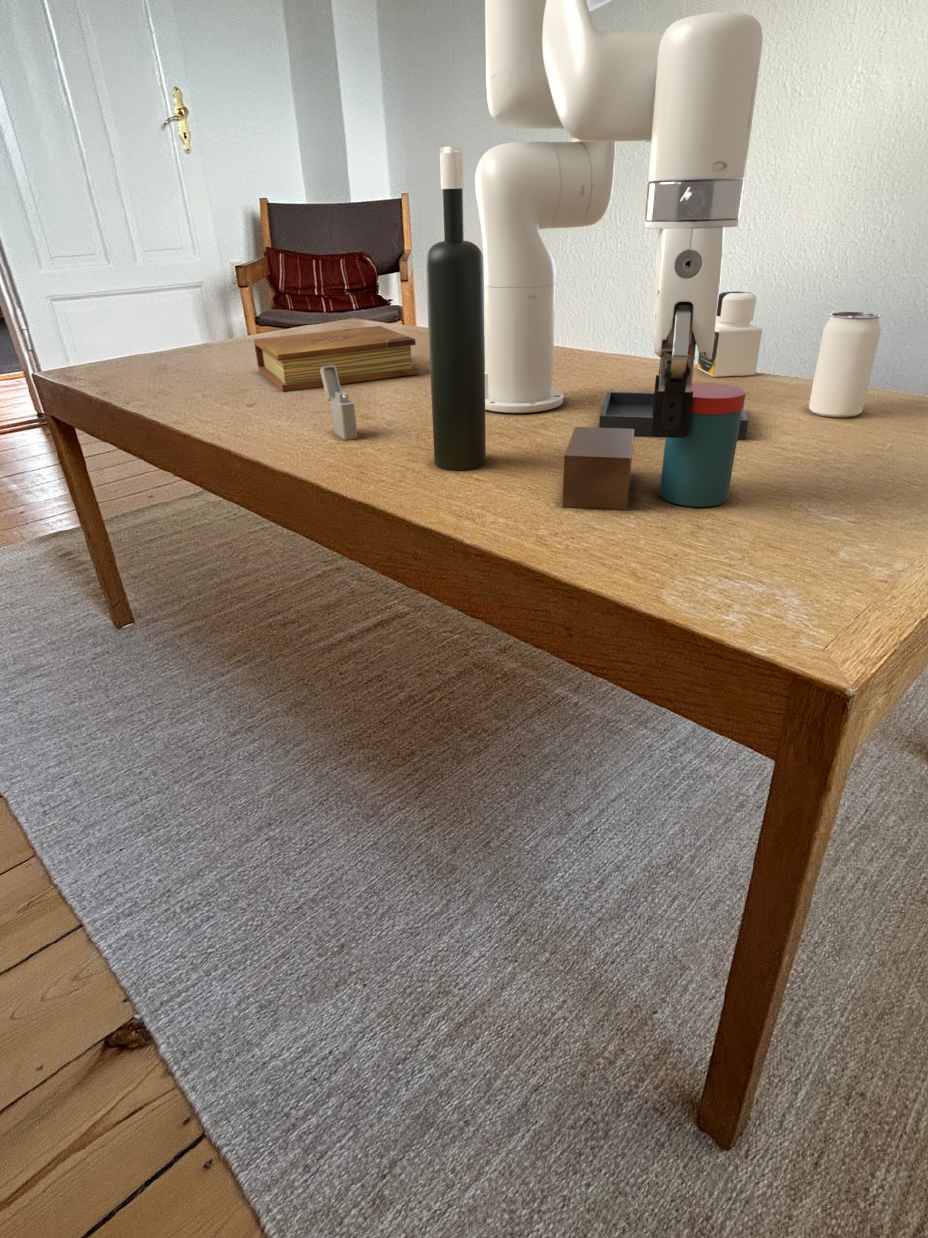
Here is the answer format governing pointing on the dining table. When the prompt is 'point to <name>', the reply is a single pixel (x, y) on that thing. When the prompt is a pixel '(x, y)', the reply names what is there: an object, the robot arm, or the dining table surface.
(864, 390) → the can
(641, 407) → the tray
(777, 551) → the dining table surface
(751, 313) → the medicine bottle
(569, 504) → the block
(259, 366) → the diary
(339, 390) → the lighter
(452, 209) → the wine bottle
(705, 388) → the container
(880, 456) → the dining table surface
